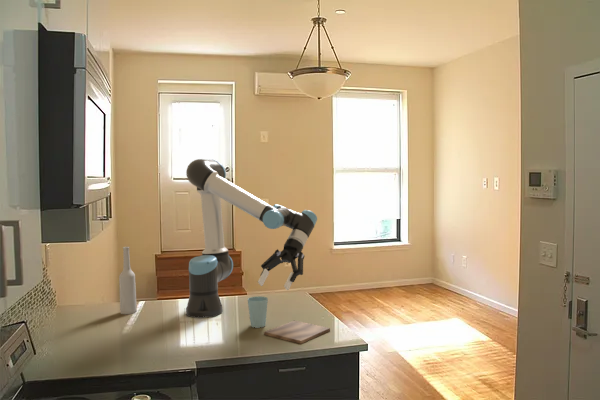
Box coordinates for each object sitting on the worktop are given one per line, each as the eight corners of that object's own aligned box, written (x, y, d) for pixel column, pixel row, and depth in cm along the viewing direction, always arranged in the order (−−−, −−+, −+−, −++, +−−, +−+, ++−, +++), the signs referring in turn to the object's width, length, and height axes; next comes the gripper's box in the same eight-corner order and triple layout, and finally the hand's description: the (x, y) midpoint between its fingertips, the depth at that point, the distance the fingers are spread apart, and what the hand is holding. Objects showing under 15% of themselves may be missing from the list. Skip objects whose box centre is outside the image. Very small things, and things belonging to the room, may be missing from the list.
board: (264, 334, 177) (264, 331, 177) (293, 322, 191) (293, 320, 190) (301, 343, 167) (301, 340, 167) (330, 330, 180) (329, 328, 180)
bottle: (137, 313, 209) (134, 247, 207) (120, 315, 206) (118, 248, 205) (136, 309, 215) (133, 245, 214) (119, 311, 212) (117, 246, 211)
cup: (263, 321, 193) (262, 295, 193) (271, 326, 187) (271, 299, 186) (245, 324, 189) (244, 298, 189) (253, 330, 183) (252, 302, 182)
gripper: (324, 250, 198) (302, 295, 187) (276, 246, 213) (254, 287, 202) (315, 239, 194) (293, 284, 183) (268, 235, 209) (244, 277, 198)
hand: (272, 286), depth 193 cm, fingers open, 13 cm apart
